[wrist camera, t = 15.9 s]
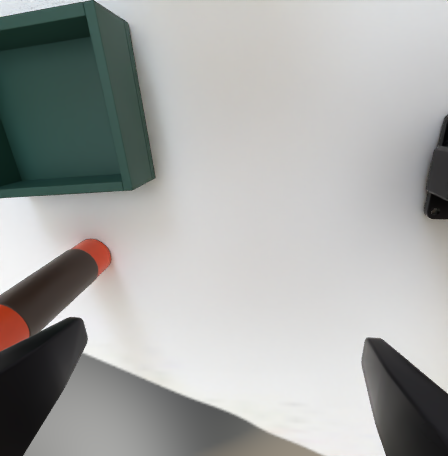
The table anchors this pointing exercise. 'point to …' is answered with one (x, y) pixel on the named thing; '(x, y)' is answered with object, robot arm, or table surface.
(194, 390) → the table surface
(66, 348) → the robot arm
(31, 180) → the crayon tray
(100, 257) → the crayon
